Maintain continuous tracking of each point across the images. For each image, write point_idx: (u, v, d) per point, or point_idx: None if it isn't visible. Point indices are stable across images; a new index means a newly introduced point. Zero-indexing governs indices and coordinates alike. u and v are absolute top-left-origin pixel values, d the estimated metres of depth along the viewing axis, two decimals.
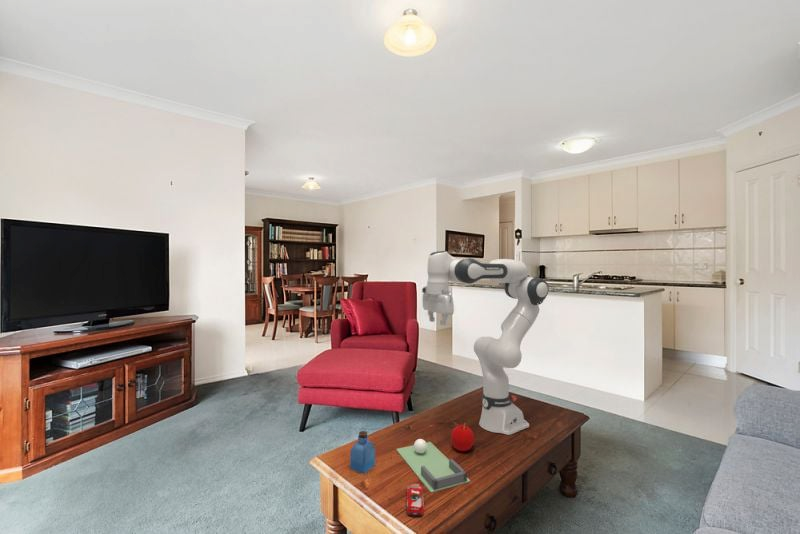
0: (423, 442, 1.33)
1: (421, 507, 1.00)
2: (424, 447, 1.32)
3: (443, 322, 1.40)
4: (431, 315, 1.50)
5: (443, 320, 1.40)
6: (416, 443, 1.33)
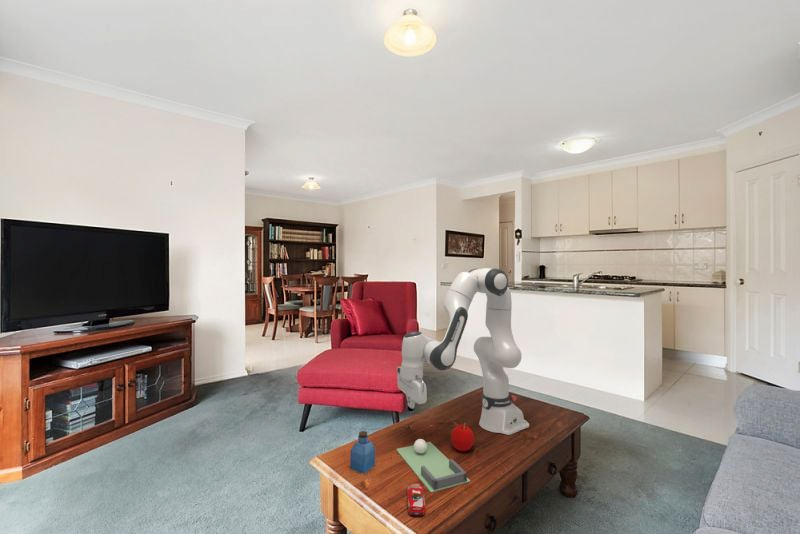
0: (423, 442, 1.33)
1: (423, 507, 1.00)
2: (424, 447, 1.32)
3: (411, 405, 1.39)
4: (409, 399, 1.42)
5: (411, 403, 1.39)
6: (416, 443, 1.33)
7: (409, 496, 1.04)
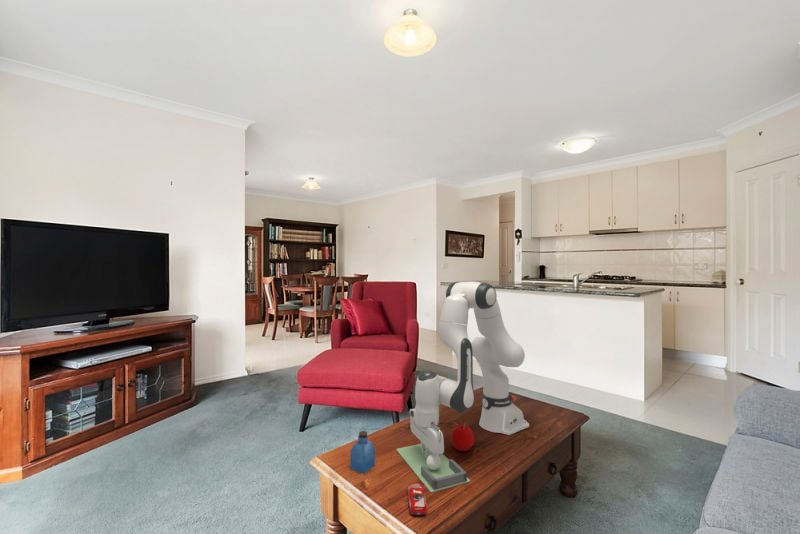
0: None
1: (424, 506, 1.00)
2: None
3: (427, 454, 1.27)
4: (424, 446, 1.30)
5: (427, 452, 1.27)
6: None
7: (410, 496, 1.04)
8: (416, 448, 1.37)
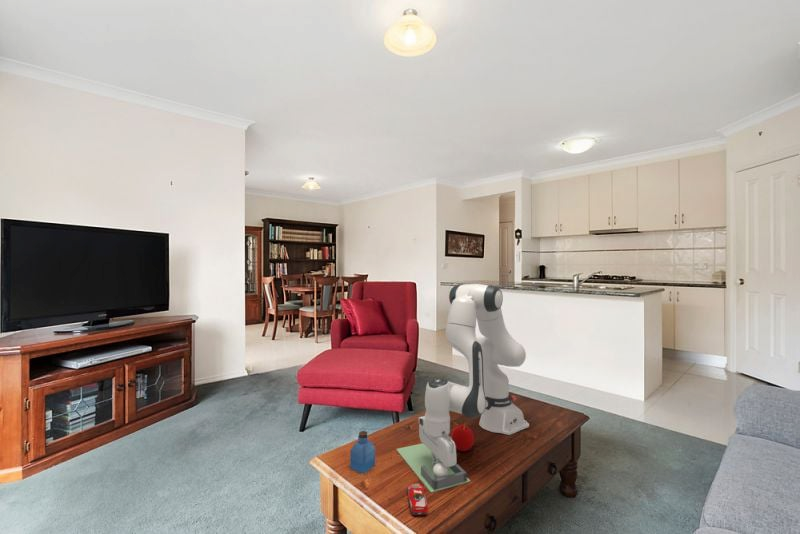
0: (444, 472, 1.15)
1: (425, 506, 1.00)
2: None
3: None
4: (435, 456, 1.23)
5: (437, 462, 1.20)
6: (436, 472, 1.15)
7: (411, 496, 1.04)
8: (416, 448, 1.37)
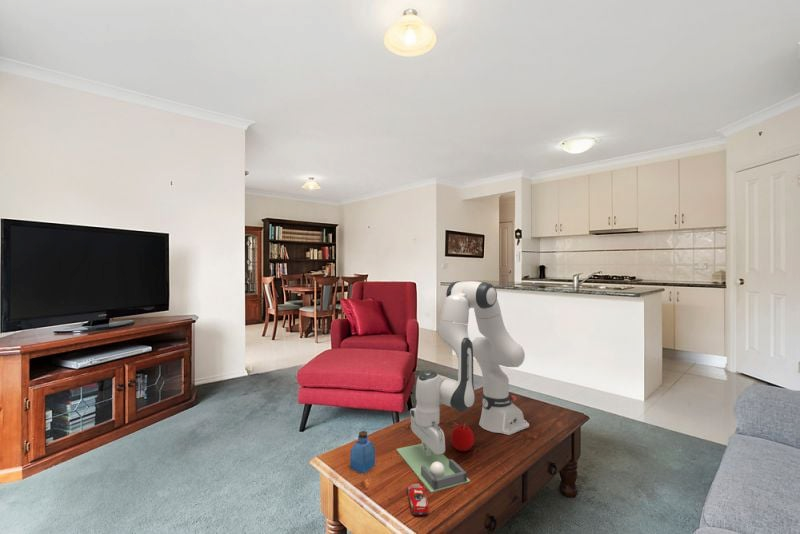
0: (440, 467, 1.17)
1: (426, 506, 1.01)
2: (442, 472, 1.16)
3: (428, 453, 1.28)
4: (425, 446, 1.30)
5: (428, 451, 1.27)
6: (432, 470, 1.16)
7: (411, 496, 1.04)
8: (416, 448, 1.37)
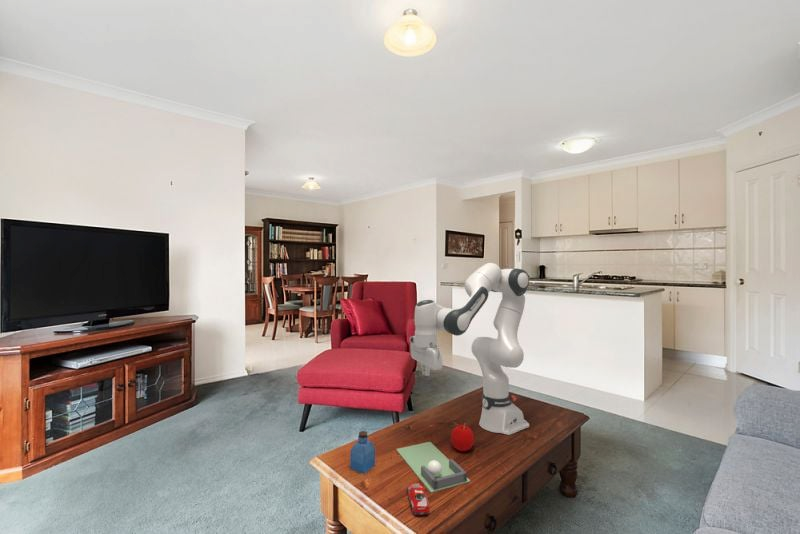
0: (434, 463, 1.18)
1: (427, 506, 1.01)
2: (438, 467, 1.17)
3: (427, 373, 1.40)
4: (424, 368, 1.42)
5: (427, 371, 1.39)
6: (429, 469, 1.17)
7: (412, 496, 1.04)
8: (416, 448, 1.37)
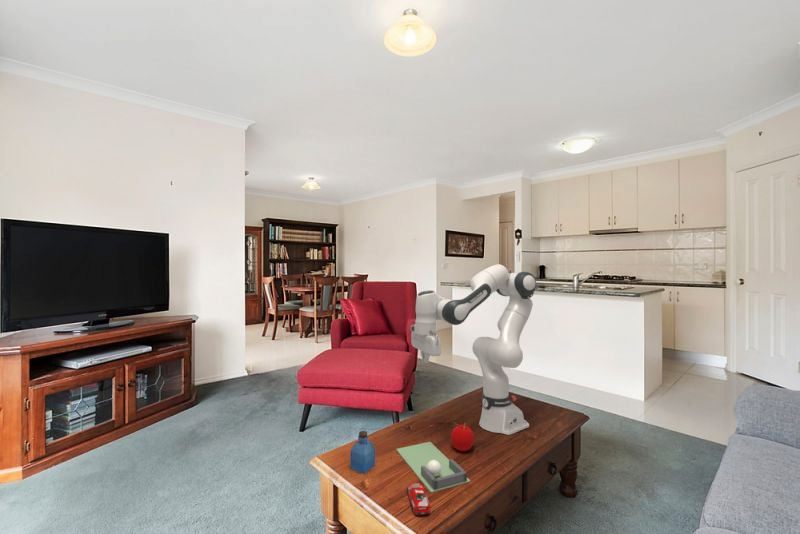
0: (434, 462, 1.18)
1: (428, 506, 1.01)
2: (438, 466, 1.18)
3: (426, 360, 1.46)
4: (424, 355, 1.49)
5: (426, 358, 1.46)
6: (428, 468, 1.18)
7: (412, 496, 1.04)
8: (416, 448, 1.37)
